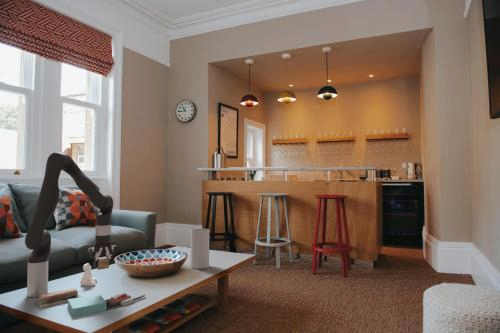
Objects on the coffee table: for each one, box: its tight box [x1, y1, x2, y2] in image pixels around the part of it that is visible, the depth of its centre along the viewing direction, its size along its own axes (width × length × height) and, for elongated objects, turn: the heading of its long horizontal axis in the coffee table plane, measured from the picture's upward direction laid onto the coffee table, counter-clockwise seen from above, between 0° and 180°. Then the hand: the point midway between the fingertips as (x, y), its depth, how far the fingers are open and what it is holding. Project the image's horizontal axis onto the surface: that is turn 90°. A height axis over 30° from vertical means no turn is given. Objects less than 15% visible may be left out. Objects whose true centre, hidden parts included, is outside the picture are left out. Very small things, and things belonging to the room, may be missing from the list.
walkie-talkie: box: [104, 292, 146, 309], centre depth 173 cm, size 9×4×20 cm
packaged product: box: [36, 288, 82, 309], centre depth 173 cm, size 18×5×10 cm
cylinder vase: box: [190, 228, 210, 270], centre depth 239 cm, size 12×12×25 cm
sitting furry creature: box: [79, 262, 98, 287], centre depth 199 cm, size 10×9×12 cm
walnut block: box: [96, 256, 110, 270], centre depth 181 cm, size 5×5×5 cm
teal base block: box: [67, 293, 107, 318], centre depth 164 cm, size 14×14×4 cm
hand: (102, 266), depth 181 cm, fingers closed on walnut block, 5 cm apart
